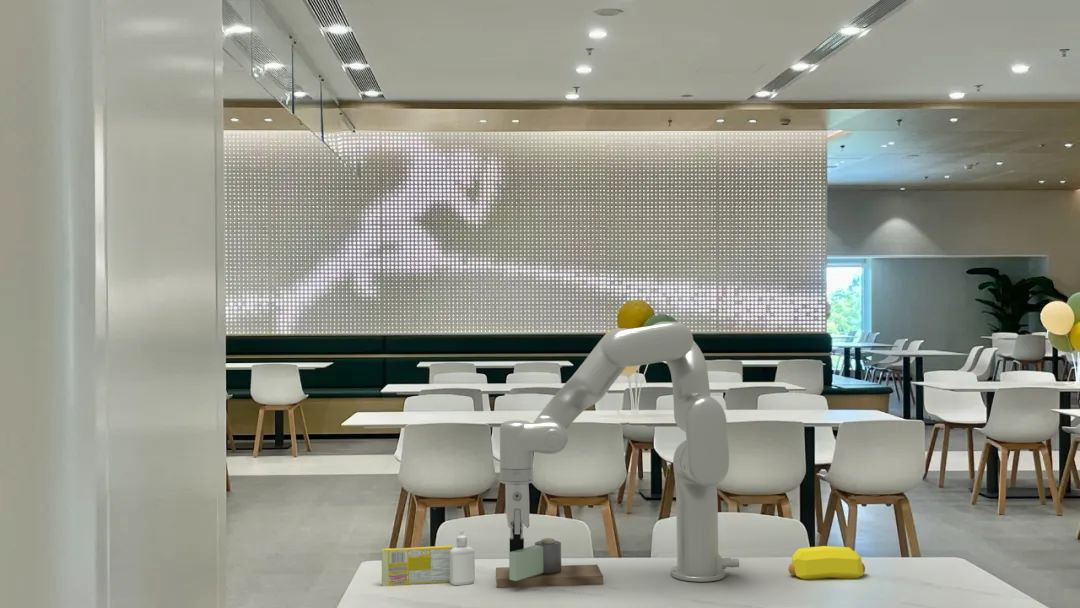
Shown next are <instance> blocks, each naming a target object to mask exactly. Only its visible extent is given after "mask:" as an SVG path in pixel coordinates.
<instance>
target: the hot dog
mask: <svg viewBox="0 0 1080 608" xmlns="http://www.w3.org/2000/svg"><path fill="white" fill-rule="evenodd" d="M787 570H788V572H789V574H790V575H792V576H795V577H797V578H800V579H802V580H817V579H819V580H820V579H826V578H828V579H829V578H837V579H859V578H860V577H863V575H864V573H865V571H866V565H865V564H864V563H863V562H862V557H861V556H860V555H859V553H857V551H855V550H853V549H851V547H850V546H849V547H846V546H832V545H829V546H828V545H821V546H810V547H800V548H798V549H796V551H795V552H794V553H793V554H792V559H791V564H789V566H788V569H787Z"/></svg>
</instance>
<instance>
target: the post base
mask: <svg viewBox="0 0 1080 608" xmlns="http://www.w3.org/2000/svg"><path fill="white" fill-rule="evenodd" d="M495 579H496V580H495V583H496V588H499V589H500V588H502V589H504V588H529V587H530V588H532V587H533V588H534V587H561V586H563V587H565V586H566V587H567V586H568V587H569V586H592V585H591V584H601V585H604V577H603V573H602V571H601V569H600V567H599V566H598V564H573V565H569V564H568V565H561V571H560V572H557V573H550V574H545V573H540V574H537V575H534V576H531V577H527V578H524V579H521V580H518V581H514V580H510V579H509V566H507V567H506V566H505V567H495Z"/></svg>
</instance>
